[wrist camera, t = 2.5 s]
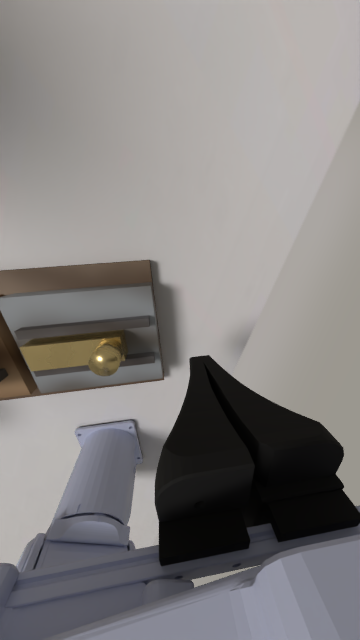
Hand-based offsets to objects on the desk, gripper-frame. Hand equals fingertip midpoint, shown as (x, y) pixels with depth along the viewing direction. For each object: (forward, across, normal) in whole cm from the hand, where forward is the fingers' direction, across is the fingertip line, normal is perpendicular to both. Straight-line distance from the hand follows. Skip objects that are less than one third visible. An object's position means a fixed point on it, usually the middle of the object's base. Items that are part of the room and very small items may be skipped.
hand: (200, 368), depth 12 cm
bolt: (+5, +10, 0) cm, 11 cm away
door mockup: (+8, +16, 0) cm, 18 cm away
